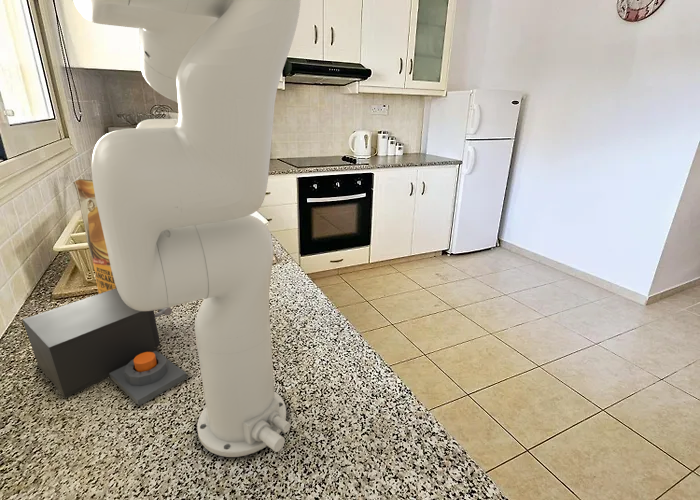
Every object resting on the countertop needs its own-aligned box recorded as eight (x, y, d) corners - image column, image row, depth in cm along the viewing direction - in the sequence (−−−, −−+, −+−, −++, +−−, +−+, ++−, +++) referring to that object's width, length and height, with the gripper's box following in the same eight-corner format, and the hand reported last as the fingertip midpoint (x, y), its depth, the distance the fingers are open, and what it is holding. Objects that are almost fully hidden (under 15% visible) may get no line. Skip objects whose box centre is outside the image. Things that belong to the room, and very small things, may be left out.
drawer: (152, 316, 80) (146, 283, 77) (181, 335, 74) (175, 300, 71) (53, 356, 67) (41, 319, 64) (79, 384, 61) (66, 344, 58)
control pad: (187, 378, 64) (184, 364, 63) (139, 406, 58) (135, 390, 57) (157, 355, 69) (154, 342, 68) (110, 378, 63) (106, 364, 62)
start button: (160, 365, 63) (158, 356, 62) (141, 375, 60) (139, 366, 60) (150, 357, 65) (149, 349, 64) (131, 367, 62) (129, 358, 62)
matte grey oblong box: (125, 329, 77) (115, 288, 73) (156, 353, 70) (147, 308, 66) (38, 366, 66) (22, 319, 62) (65, 398, 59) (48, 347, 55)
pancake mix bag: (114, 287, 94) (87, 176, 84) (168, 304, 87) (147, 184, 77) (86, 299, 88) (55, 181, 78) (143, 318, 81) (116, 191, 71)
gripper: (142, 198, 62) (160, 296, 69) (219, 185, 74) (229, 271, 80) (122, 192, 67) (141, 286, 73) (197, 182, 78) (208, 263, 84)
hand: (187, 278), depth 76 cm, fingers closed
